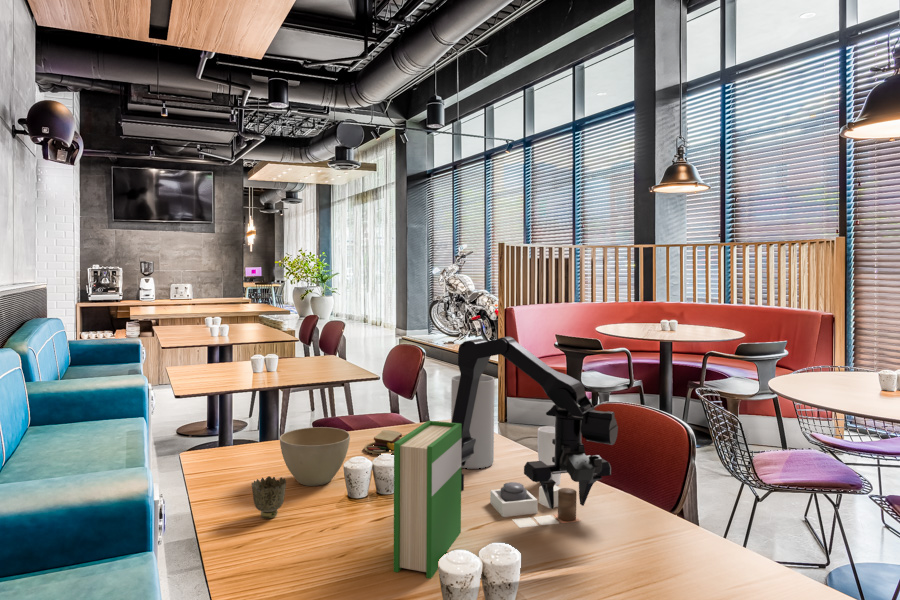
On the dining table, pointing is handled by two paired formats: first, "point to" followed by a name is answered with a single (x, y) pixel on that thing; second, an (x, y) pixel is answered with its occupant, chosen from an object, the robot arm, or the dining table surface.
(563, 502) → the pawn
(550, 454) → the white tapered vase
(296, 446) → the deep taupe bowl
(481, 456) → the cylinder vase
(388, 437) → the toy sandwich meal
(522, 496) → the popper button
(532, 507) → the board
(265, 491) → the cup
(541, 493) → the die
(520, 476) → the dining table surface
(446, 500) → the hardback book
